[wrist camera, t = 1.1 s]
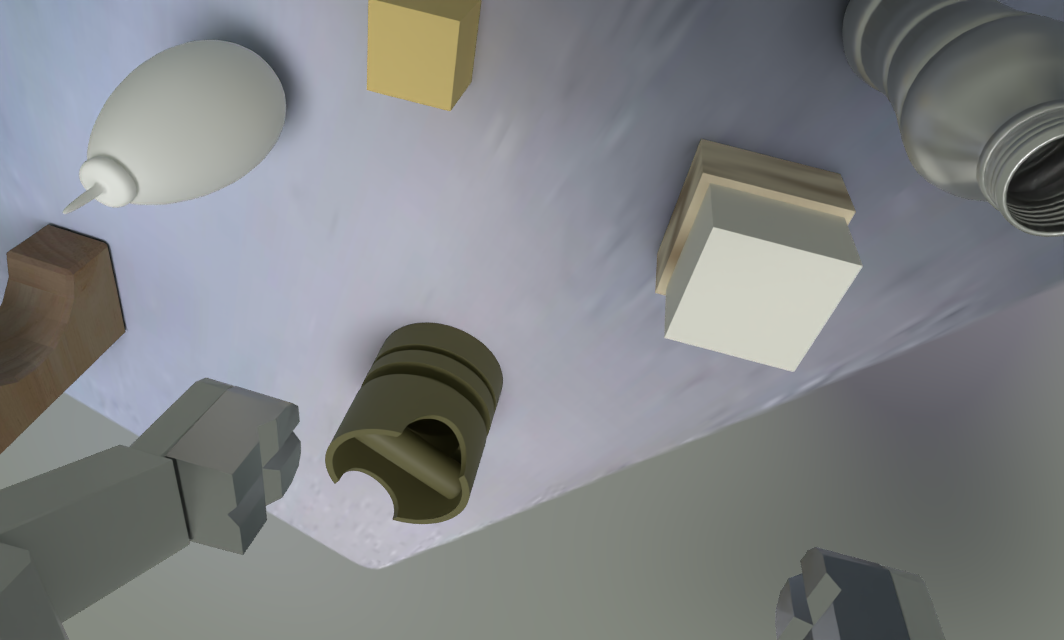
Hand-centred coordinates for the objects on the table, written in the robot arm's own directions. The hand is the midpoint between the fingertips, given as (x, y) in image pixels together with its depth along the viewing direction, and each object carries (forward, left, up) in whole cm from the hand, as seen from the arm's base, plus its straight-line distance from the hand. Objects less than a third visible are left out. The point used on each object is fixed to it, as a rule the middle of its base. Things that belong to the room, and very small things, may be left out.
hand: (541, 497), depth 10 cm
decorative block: (+34, -41, -34) cm, 64 cm away
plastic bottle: (-2, +14, -34) cm, 37 cm away
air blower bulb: (+11, -23, -34) cm, 43 cm away
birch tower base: (+12, +11, -34) cm, 38 cm away
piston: (+34, -8, -34) cm, 49 cm away
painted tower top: (+12, +11, -29) cm, 34 cm away
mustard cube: (+5, -11, -34) cm, 36 cm away
